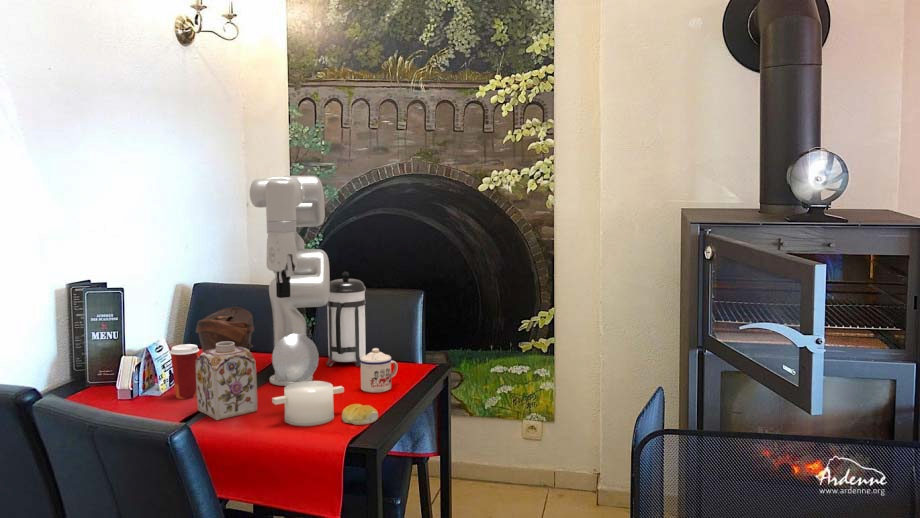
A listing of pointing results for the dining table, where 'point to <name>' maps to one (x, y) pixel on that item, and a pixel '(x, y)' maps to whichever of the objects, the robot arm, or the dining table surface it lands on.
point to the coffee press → (346, 321)
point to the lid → (295, 358)
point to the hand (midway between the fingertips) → (283, 297)
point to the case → (226, 328)
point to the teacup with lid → (376, 371)
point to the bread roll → (359, 414)
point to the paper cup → (184, 370)
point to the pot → (308, 402)
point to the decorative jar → (226, 381)
